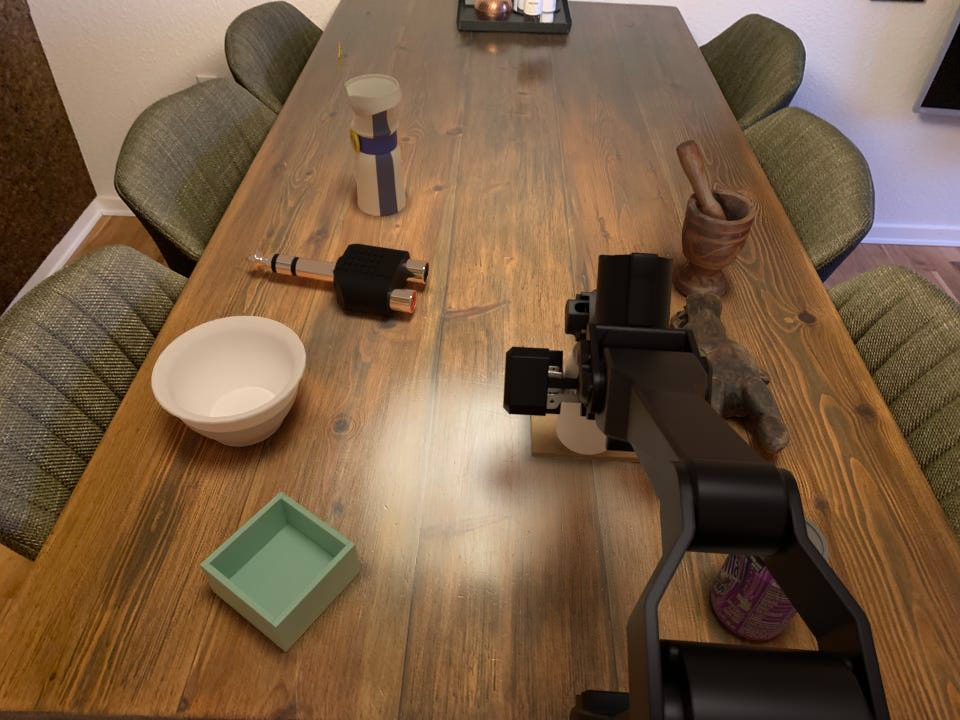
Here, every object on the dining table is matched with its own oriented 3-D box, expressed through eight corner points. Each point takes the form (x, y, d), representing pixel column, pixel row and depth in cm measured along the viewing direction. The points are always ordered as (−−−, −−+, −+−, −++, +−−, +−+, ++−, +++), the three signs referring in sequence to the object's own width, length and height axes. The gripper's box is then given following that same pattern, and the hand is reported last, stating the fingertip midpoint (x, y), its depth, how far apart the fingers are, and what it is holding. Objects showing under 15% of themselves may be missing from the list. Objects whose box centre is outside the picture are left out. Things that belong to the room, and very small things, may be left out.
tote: (360, 571, 68) (355, 543, 65) (286, 652, 63) (275, 627, 59) (289, 519, 72) (280, 490, 69) (213, 591, 66) (199, 564, 63)
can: (545, 421, 78) (556, 341, 70) (596, 404, 80) (612, 325, 72) (573, 464, 74) (588, 386, 66) (626, 446, 76) (647, 367, 68)
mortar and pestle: (642, 292, 99) (673, 163, 85) (649, 257, 105) (680, 131, 91) (727, 309, 97) (773, 180, 83) (729, 272, 103) (773, 145, 89)
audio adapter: (407, 296, 89) (222, 266, 92) (409, 327, 93) (232, 297, 96) (430, 246, 97) (258, 220, 100) (431, 277, 100) (266, 250, 104)
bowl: (268, 492, 74) (252, 441, 68) (142, 447, 78) (116, 395, 72) (341, 387, 85) (332, 335, 79) (227, 353, 89) (210, 301, 83)
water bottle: (364, 223, 109) (347, 60, 92) (348, 195, 115) (329, 36, 97) (415, 212, 112) (407, 51, 94) (397, 185, 117) (386, 28, 99)
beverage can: (734, 558, 70) (772, 489, 62) (799, 608, 67) (850, 541, 58) (693, 605, 67) (729, 538, 58) (761, 660, 63) (809, 597, 55)
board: (639, 462, 78) (641, 457, 78) (531, 456, 79) (531, 452, 78) (627, 371, 88) (628, 366, 88) (530, 366, 88) (531, 361, 88)
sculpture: (730, 321, 95) (746, 282, 90) (788, 482, 78) (813, 444, 73) (656, 319, 95) (668, 280, 90) (697, 480, 77) (716, 442, 72)
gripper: (739, 294, 58) (686, 310, 73) (511, 283, 58) (506, 301, 74) (733, 431, 58) (681, 417, 73) (504, 419, 58) (501, 408, 74)
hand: (592, 383), depth 74 cm, fingers closed on can, 6 cm apart
